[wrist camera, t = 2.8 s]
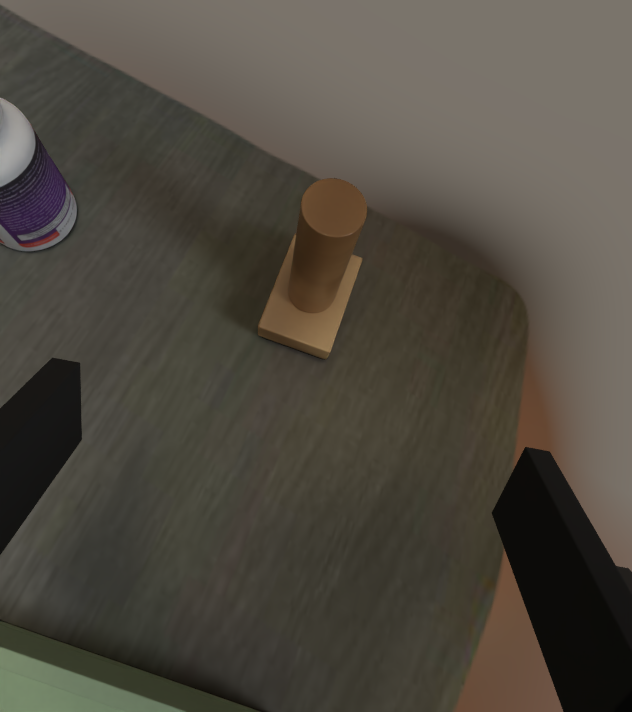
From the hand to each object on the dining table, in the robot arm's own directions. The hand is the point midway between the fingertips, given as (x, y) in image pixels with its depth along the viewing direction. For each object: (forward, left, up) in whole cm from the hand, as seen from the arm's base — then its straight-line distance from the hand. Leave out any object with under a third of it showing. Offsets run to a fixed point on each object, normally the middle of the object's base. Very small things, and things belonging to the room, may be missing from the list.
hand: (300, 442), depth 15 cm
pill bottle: (+20, -10, -15) cm, 27 cm away
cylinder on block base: (+2, -10, -15) cm, 18 cm away
